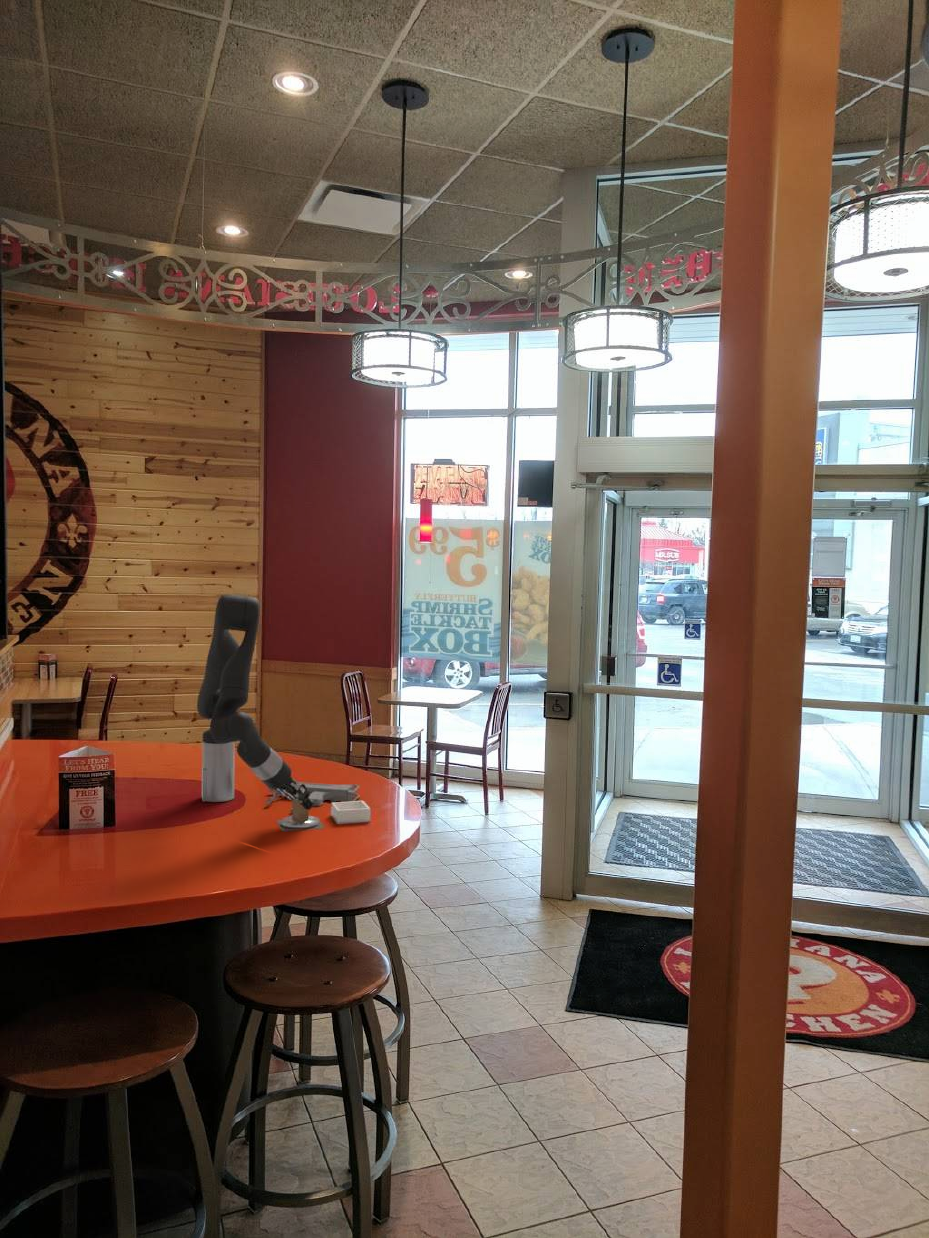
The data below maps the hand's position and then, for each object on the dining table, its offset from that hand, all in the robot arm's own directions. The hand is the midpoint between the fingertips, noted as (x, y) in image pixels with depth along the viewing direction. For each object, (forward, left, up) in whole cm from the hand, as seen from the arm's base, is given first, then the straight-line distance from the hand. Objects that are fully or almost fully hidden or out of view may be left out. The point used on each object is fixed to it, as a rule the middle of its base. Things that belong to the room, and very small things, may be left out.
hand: (306, 805), depth 241 cm
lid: (-2, -1, -5) cm, 5 cm away
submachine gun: (+2, +22, -6) cm, 23 cm away
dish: (+12, +1, -5) cm, 13 cm away
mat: (-2, -1, -5) cm, 5 cm away
